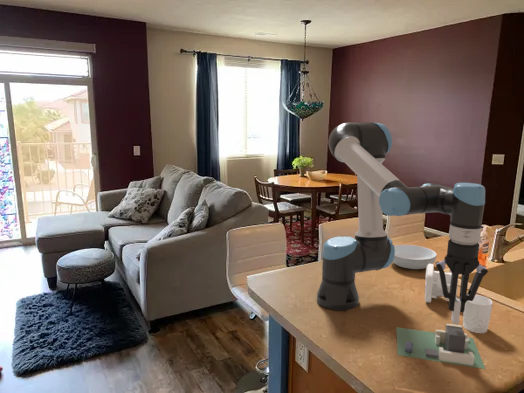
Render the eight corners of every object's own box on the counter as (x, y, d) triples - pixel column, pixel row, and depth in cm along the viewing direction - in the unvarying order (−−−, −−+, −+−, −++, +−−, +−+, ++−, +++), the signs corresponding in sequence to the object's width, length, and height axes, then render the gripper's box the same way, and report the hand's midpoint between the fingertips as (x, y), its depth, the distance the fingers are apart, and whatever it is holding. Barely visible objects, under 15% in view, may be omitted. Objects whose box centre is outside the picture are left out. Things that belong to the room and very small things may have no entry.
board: (397, 356, 111) (398, 347, 110) (396, 328, 126) (396, 320, 125) (485, 370, 104) (486, 360, 104) (472, 339, 119) (473, 330, 119)
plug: (447, 357, 109) (449, 333, 108) (444, 346, 115) (446, 323, 114) (463, 360, 108) (465, 335, 107) (459, 348, 114) (461, 325, 112)
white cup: (464, 320, 131) (467, 291, 129) (491, 327, 126) (494, 298, 124) (458, 329, 125) (461, 300, 123) (486, 338, 120) (490, 307, 118)
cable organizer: (455, 310, 138) (458, 279, 136) (423, 304, 142) (425, 274, 140) (454, 293, 151) (457, 265, 149) (424, 289, 155) (427, 261, 153)
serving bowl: (386, 256, 194) (387, 242, 192) (433, 260, 187) (434, 246, 186) (386, 271, 174) (387, 256, 173) (437, 276, 168) (439, 261, 167)
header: (439, 360, 108) (440, 348, 108) (434, 340, 118) (435, 329, 118) (473, 365, 106) (474, 353, 105) (465, 344, 116) (466, 333, 115)
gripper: (439, 242, 104) (431, 324, 109) (494, 247, 101) (484, 332, 105) (435, 234, 111) (428, 311, 116) (487, 239, 108) (477, 318, 112)
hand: (454, 321), depth 111 cm, fingers closed
